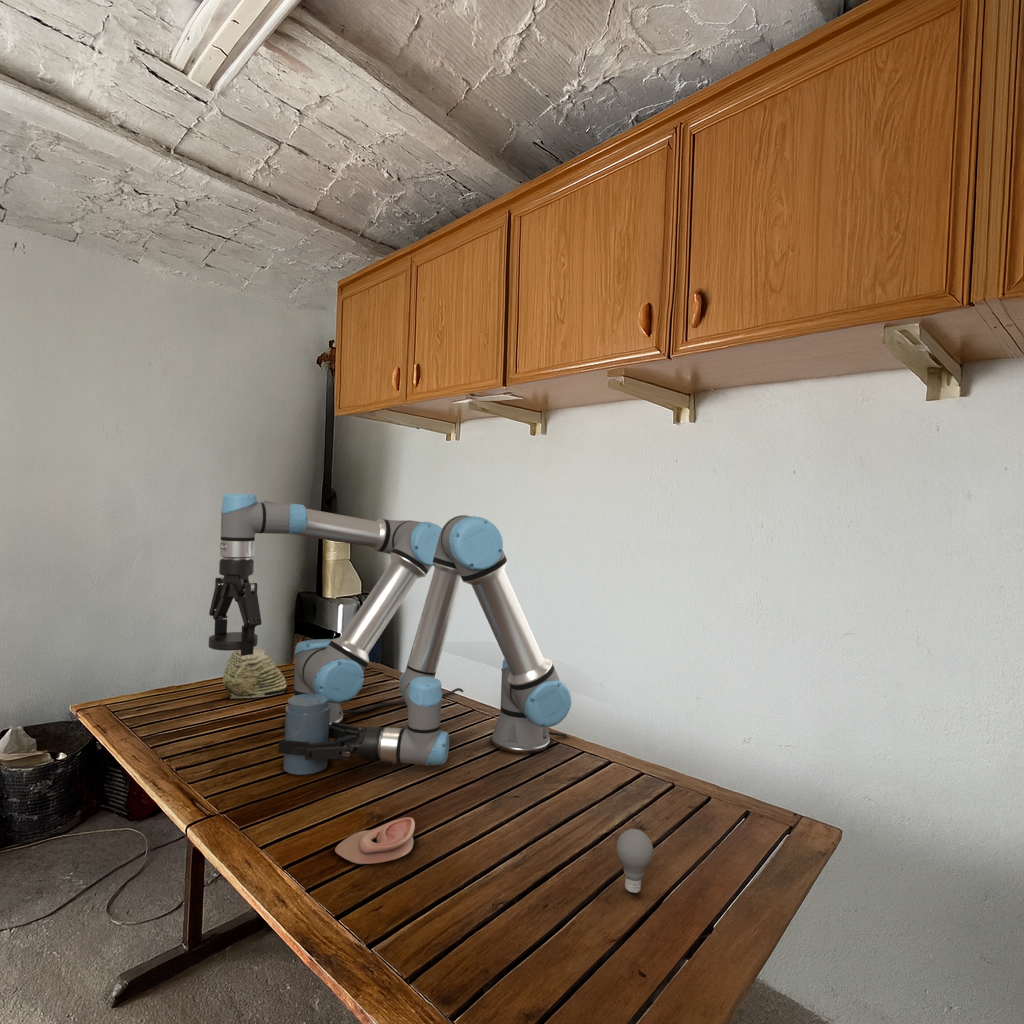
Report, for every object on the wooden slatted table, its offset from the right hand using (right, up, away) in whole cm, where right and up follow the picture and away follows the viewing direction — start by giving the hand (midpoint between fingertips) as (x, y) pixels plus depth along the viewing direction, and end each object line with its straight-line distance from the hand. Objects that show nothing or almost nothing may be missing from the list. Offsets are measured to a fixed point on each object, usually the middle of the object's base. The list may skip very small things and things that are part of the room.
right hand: (289, 737), depth 149 cm
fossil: (-28, -4, +49) cm, 57 cm away
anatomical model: (+28, -8, -34) cm, 44 cm away
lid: (-14, +23, +2) cm, 27 cm away
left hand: (-14, +20, +2) cm, 25 cm away
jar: (+4, -6, 0) cm, 8 cm away
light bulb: (+73, -10, -43) cm, 85 cm away
